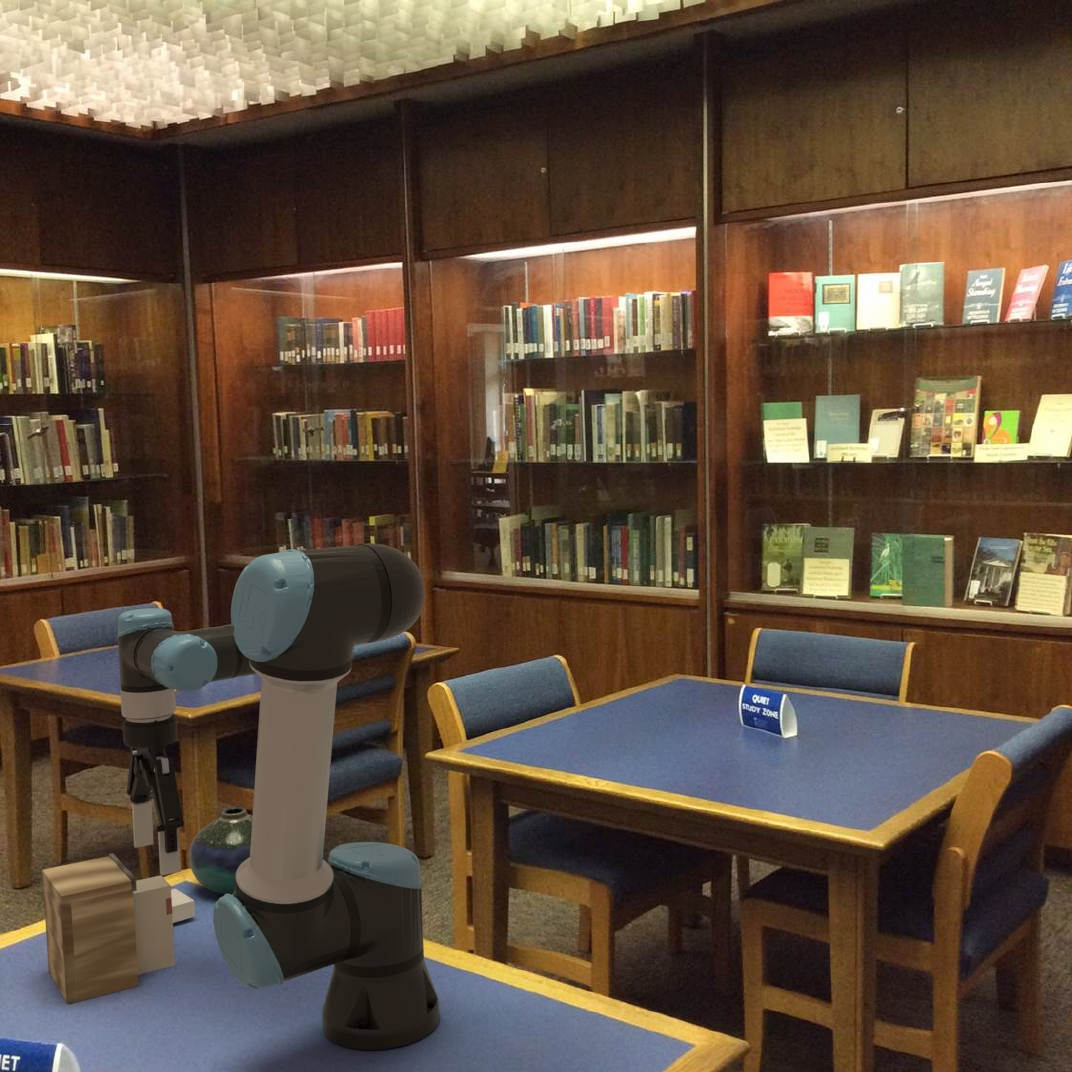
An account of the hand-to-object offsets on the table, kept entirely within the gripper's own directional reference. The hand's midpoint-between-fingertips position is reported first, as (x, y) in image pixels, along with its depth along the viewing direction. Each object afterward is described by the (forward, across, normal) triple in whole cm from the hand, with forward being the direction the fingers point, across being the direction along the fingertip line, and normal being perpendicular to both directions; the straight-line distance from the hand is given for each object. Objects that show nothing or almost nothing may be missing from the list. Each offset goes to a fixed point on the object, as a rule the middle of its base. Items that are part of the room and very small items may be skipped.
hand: (156, 858), depth 180 cm
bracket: (+16, +14, -2) cm, 21 cm away
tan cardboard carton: (+15, 0, +4) cm, 16 cm away
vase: (+16, +22, -19) cm, 33 cm away
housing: (+15, 0, +10) cm, 18 cm away
